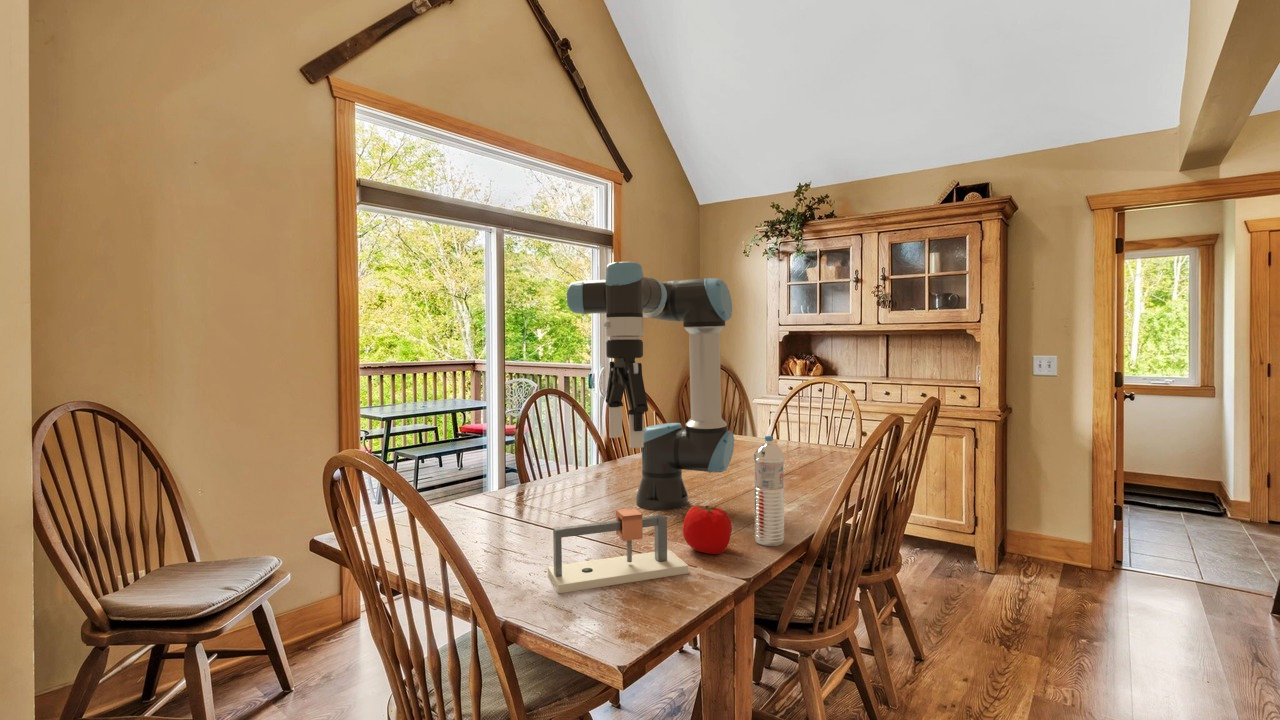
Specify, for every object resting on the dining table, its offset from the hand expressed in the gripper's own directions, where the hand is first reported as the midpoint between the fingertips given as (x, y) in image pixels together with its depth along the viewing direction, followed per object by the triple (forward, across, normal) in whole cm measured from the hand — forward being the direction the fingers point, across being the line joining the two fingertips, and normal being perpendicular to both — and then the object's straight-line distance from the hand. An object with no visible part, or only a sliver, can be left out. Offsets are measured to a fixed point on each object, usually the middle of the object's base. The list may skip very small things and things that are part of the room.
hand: (625, 442), depth 123 cm
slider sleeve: (+25, 0, 0) cm, 25 cm away
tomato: (+27, -6, +21) cm, 35 cm away
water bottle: (+27, -5, +37) cm, 46 cm away
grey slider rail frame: (+25, 0, -3) cm, 26 cm away
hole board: (+27, 0, -2) cm, 27 cm away
